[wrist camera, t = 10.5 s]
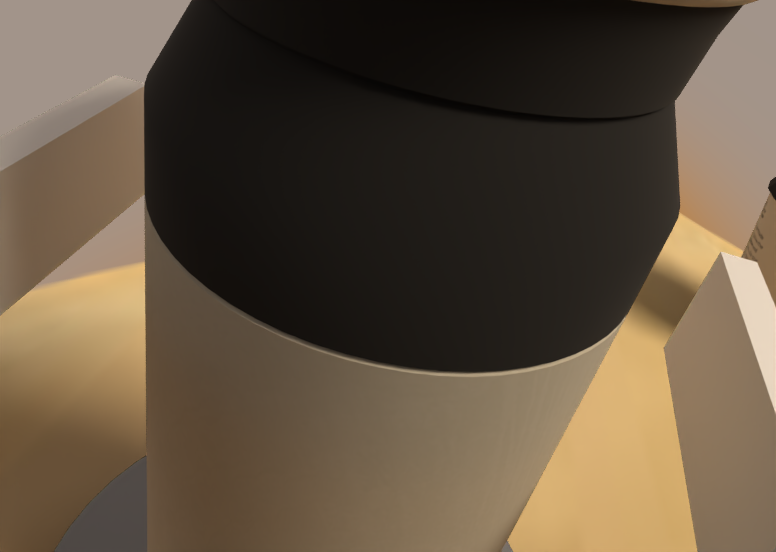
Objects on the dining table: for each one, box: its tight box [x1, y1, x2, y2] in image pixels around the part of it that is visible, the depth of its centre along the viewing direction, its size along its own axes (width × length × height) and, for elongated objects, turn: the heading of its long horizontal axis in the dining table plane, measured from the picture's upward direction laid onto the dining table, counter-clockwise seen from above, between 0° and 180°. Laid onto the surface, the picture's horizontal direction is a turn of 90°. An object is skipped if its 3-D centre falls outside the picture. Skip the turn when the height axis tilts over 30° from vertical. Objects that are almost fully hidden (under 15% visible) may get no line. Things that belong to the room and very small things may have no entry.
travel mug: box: [144, 0, 757, 552], centre depth 14 cm, size 8×8×18 cm
